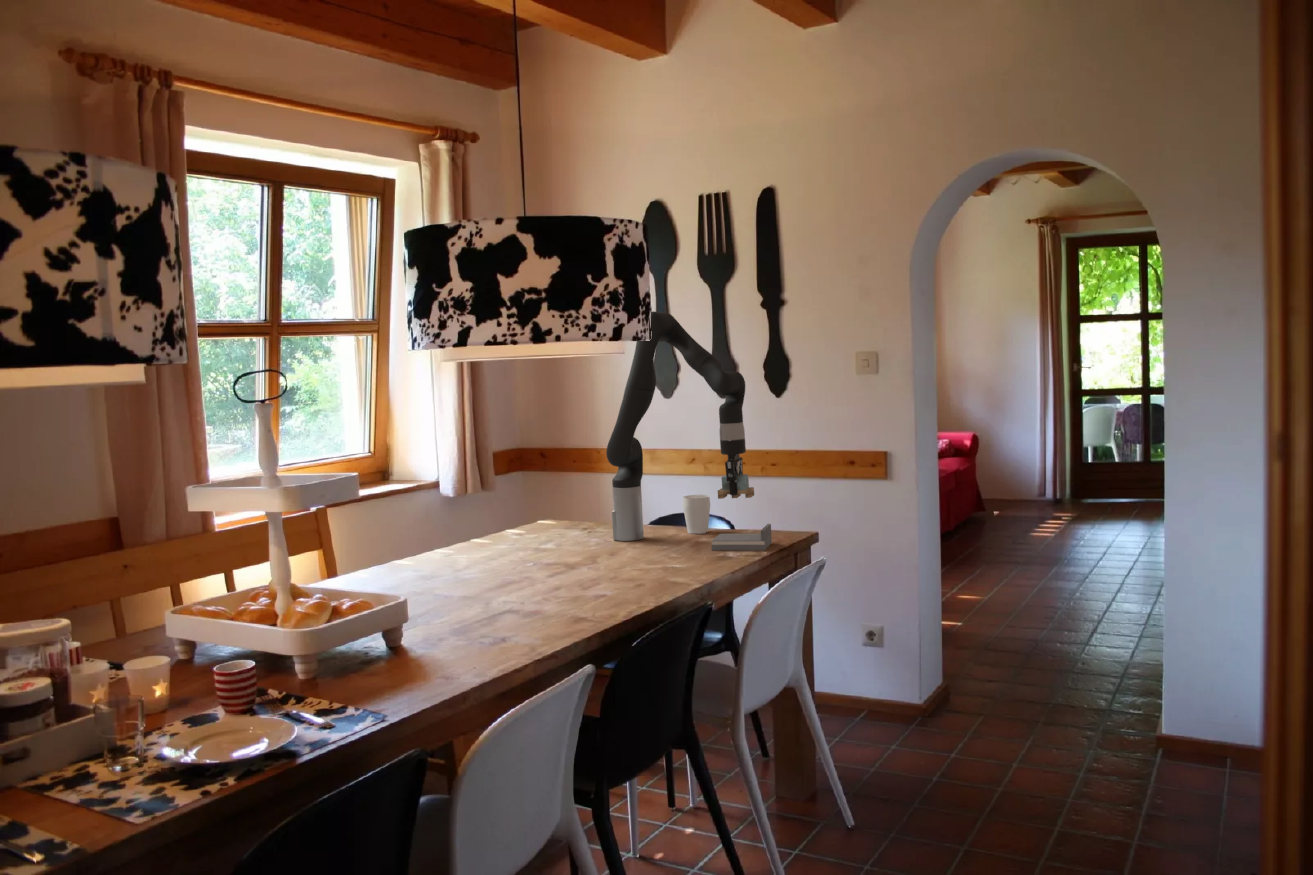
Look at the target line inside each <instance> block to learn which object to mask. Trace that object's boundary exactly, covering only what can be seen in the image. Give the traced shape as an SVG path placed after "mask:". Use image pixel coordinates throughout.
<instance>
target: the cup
mask: <svg viewBox="0 0 1313 875" xmlns="http://www.w3.org/2000/svg"><path fill="white" fill-rule="evenodd" d="M682 508H683V513H684V519H685V524H686V529H687V530H686V531H687V533H688V534H689V535H701V534H702V535H704V534H707V533H708V532H709V524H710V522H709V521H710V512H711V499H710V495H708V494H688V495H685V496H683V497H682ZM706 532H707V533H706Z"/></svg>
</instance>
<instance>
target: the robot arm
mask: <svg viewBox="0 0 1313 875" xmlns="http://www.w3.org/2000/svg"><path fill="white" fill-rule="evenodd" d="M650 312H651V331H652V339H651V340H650V341H637V340H636V343H635V349H634V354H633V359H632V361H631V362H632V363H631V366H630V370H629V374H628V378H627V381H626V384H625V388H624V391H623V396H622V401H621V404H620V407H619V411H618V415H617V419H616V421H615V425H614V427H613V430H612V433H611V435H610V437H609V440H608V443H607V446H606V451H605V453H606V454H605V455H606V458H607V461H608V463H609V464H610V465H612V466H614V467H617V468H618V469H617V473H616V474H615V475H614V477H613V478H612V500H613V502H612V503H613V510H612V511H611V519H612V520H611V522H612V523H611V524H612V539H613V541H618V542H619V541H620V542H621V541H622V542H625V541H626V542H627V541H628V542H630V541H639V540H642V539H644V519H643V517H644V516H643V498H642V479H643V474H644V468H643V467H644V462H643V460H644V458H643V456H644V455H643V448H642V444H641V442H640V441H639V439H638V438H637V437H635V432H636V431H637V427H638V426H639V425H640V424H639V423H640V422H641V420H642V419H643V418H644V416H645V414H646V413H647V411H648V410H649V408H650V406H651V403H652V400H653V399H654V394H655V391H656V387H657V376H656V375H657V374H656V370H655V362H654V361H655V360H654V358H655V354H656V349H657V346H658V343H659V342H660V343H662V342H665V343H667V344H669V345H670V346H672V347H674V348H675V349H676V350H678V352H679V353H680V354H681V355H682V357H683V359H684V360H685V362H686V363H687V365H688V366H689V367H691V369H692V370H693V371H694V372H696V373H697V374H698V375H700V376H701V377H702V378H703V379H704V381H705V382H706V383H707V385H708V387H709V388H710V389H711V390H712V391H713V392H714V393H716V394H717V395H719V396H725V400H724V403H722V404H720V406H719V408H718V414H719V415H718V418H719V444H720V446H719V447H720V454H721V455H724V456H725V455H726V456H727V460H726V461H724V466H725V475H726V477H727V481H728V483H729V487H730V494H729V495H730V496H732V495H737V494H738V492H737V483H736V482H737V476H738V475H743V474H744V466H743V465H744V464H743V463H744V462H743V461H744V460H743V457H741V456H740V454H745V453H746V450H747V448H746V434H745V432H746V431H745V426H744V416H743V405H744V400H745V395H746V381H745V378H744V376H743V374H742V373H740V372H739V371H736V370H735V371H734V370H733V371H724V370H723V369H722V363H721V362H720V360H719V359H718V358H717V357H715V355H713V354H712V353H711V352H709V351H708V350H706V349H705V348H704V347H703V346H702V345H700V343H698V342H697V341H696V340H695V338H693V337H692V336H691V335H690V334H689V333H688V331H686V329H685V328H684V327H683V326H682V325H681V324H680V322H678V320H677V319H676V318H675V317H674V316H673V315H672V314H670V313H669V312H664V311H663V312H662V311H650ZM732 475H733V477H731V476H732Z"/></svg>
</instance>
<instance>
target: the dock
mask: <svg viewBox="0 0 1313 875" xmlns="http://www.w3.org/2000/svg"><path fill="white" fill-rule="evenodd" d="M772 538H773V537H772V524H771V523H767V524H766V525H765V526H763V527H762V529H760V533H719V534H718V535H717V536H716V537H714V538H712V540H711V551H719V552H720V551H730V552H731V551H732V552H733V551H734V552H735V551H739V552H740V551H750V552H751V551H754V552H755V551H756V552H757V551H758V552H761V551H766V550H767V549H768V548H769V547H770V546H771V545H772V540H773V539H772ZM770 544H771V545H770ZM769 545H770V546H769ZM767 547H768V548H767Z"/></svg>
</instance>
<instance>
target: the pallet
mask: <svg viewBox="0 0 1313 875" xmlns="http://www.w3.org/2000/svg"><path fill="white" fill-rule="evenodd" d="M731 477H733V475H732V476H731ZM749 482H750V481H749V474H748V473H747V474H745V473H743V475H738V476H737V482H736V483H737V492H738V494H737V495H731V499H738V498H739V497H741V496H742V495H745V499H748V498H749V499H750V498H751V499H752V497H754V496H755V487H753V486H750V485H749ZM728 495H730V487H729V483H728V481H727V477H726V474H725V475H724V476H721V488H720V489H719V490H717V499H718V500H719V499H725V498H726V497H728Z"/></svg>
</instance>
